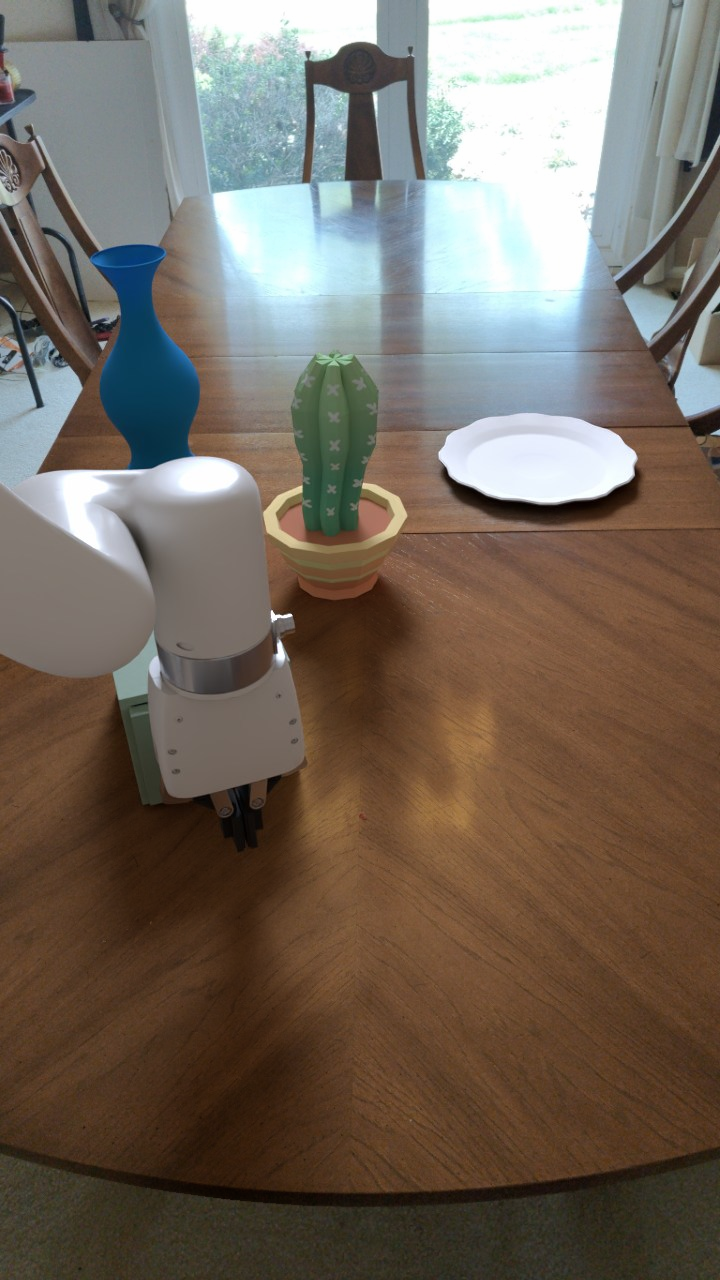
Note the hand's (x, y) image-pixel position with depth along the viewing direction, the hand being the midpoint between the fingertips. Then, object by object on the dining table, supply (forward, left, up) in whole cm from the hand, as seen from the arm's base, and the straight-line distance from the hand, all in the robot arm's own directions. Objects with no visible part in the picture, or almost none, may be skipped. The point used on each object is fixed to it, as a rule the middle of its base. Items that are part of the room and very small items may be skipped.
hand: (242, 836), depth 75 cm
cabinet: (0, +17, -4) cm, 18 cm away
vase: (+5, +67, -4) cm, 68 cm away
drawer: (0, +13, -3) cm, 14 cm away
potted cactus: (+19, +36, -4) cm, 41 cm away
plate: (+51, +51, -4) cm, 73 cm away
